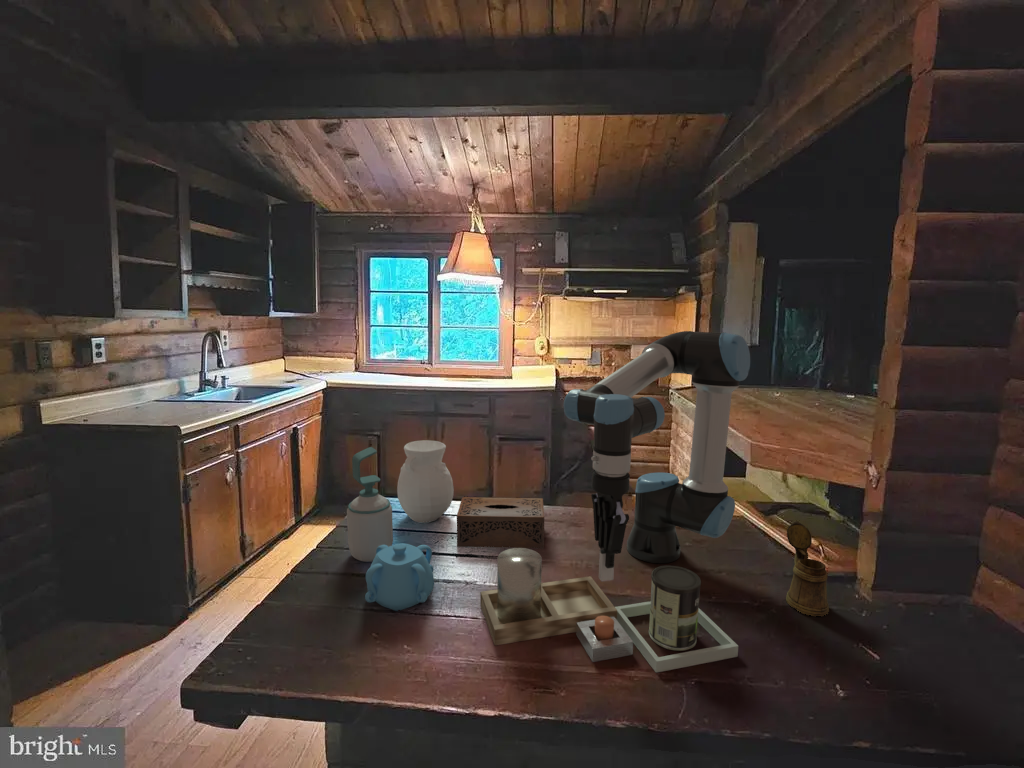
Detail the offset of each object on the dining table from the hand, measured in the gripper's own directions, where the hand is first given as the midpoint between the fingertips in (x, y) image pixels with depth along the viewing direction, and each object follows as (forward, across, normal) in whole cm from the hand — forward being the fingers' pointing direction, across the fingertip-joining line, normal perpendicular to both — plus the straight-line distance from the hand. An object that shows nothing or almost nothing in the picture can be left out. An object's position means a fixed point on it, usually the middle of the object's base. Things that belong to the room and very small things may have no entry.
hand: (605, 578), depth 111 cm
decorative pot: (+16, -29, -41) cm, 53 cm away
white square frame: (+15, +1, +16) cm, 22 cm away
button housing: (+15, 0, 0) cm, 15 cm away
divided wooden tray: (+15, -13, -8) cm, 22 cm away
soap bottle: (+16, -53, -48) cm, 73 cm away
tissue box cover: (+16, -55, -9) cm, 58 cm away
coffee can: (+16, +1, +16) cm, 23 cm away
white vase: (+16, -75, -30) cm, 82 cm away
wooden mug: (+15, -3, +55) cm, 57 cm away
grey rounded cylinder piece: (+14, -13, -15) cm, 24 cm away
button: (+14, 0, 0) cm, 14 cm away
